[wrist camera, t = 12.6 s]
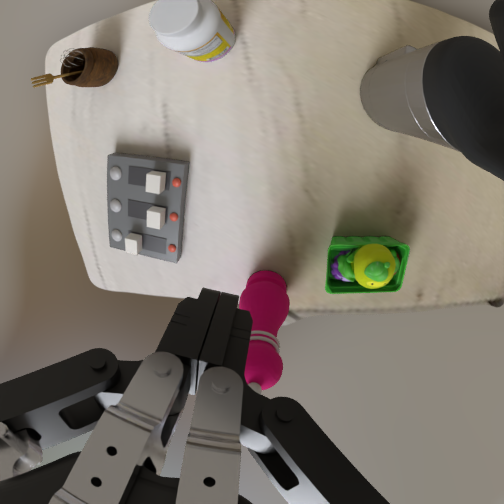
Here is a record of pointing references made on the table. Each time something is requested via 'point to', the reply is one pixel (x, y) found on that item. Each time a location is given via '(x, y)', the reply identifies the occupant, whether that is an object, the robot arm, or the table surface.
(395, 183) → the table surface
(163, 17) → the supplement bottle
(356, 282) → the fruit basket
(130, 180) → the switch panel
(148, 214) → the middle switch
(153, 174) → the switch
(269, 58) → the table surface
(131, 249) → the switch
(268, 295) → the pepper mill
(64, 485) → the robot arm
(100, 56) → the utensil holder
